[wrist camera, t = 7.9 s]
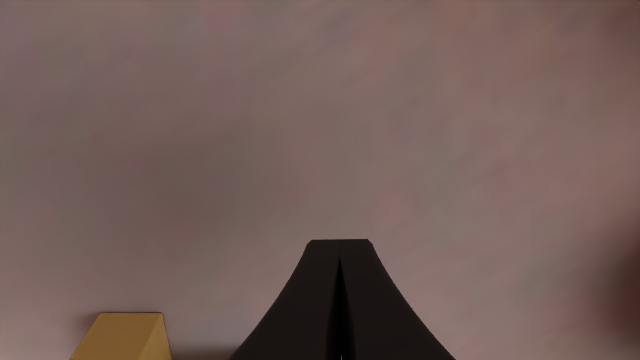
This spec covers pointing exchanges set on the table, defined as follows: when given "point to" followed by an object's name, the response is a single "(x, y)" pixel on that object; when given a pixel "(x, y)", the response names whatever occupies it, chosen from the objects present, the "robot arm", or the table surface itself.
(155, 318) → the mustard block
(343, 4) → the table surface
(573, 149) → the table surface
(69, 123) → the table surface
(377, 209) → the table surface
